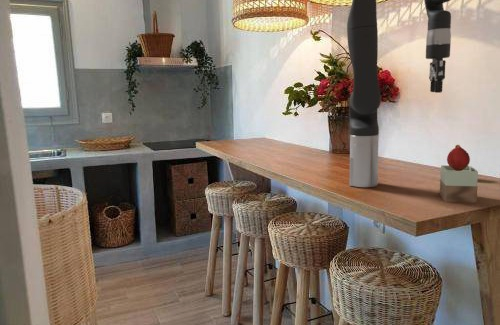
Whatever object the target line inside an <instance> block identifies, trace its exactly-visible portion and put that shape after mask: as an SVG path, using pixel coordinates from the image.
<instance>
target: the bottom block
mask: <svg viewBox="0 0 500 325" xmlns="http://www.w3.org/2000/svg"><path fill="white" fill-rule="evenodd" d="M478 189H479V188H478V185H477V186H446V185H445V184H444V183H443V182H442V180H441V179H439V196H440V197H441V198H442V200H443V201H444V202H445V203H466V204H467V203H471V204H475V203H478V202H477V200H478Z"/></svg>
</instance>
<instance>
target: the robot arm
mask: <svg viewBox="0 0 500 325" xmlns="http://www.w3.org/2000/svg"><path fill="white" fill-rule="evenodd" d="M423 1H424V6H425V11H426V15H427V33H426V40H425V42H426V44H425V59H426V60H432V61H431V62H430V63H429V75H428V78H429V82H430V85H429V86H430V87H429V88H430V90H429V91H430V93H440V94H441V93H442V92H443V82H444V80H445V78H446V63H447V62H446V60H444V59H448V58H450V56H451V43H452V32H451V28H452V26H451V24H452V14H451V12H450V10H445V8H444V3H449V2H450V1H451V0H423ZM377 14H378V12H377V0H352V2H351V6H350V10H349V13H348V17H347V22H346V23H347V24H346V32H347V33H346V34H347V35H346V36H347V45H348V46H347V47H348V52H349V54H348V55H349V58H350V62H351V65H352V66H351V67H352V71H353V80H352V81H353V83H352V84H353V85H352V86H353V89H352V92H351V94H350V96H349V103H348V106H349V108H348V110H349V111H348V112H349V113H348V115H349V117H348V119H349V120H348V121H349V123H348V124H349V187H356V188H357V187H358V188H374V187H377V186H378V184H379V183H378V180H379V179H378V178H379V176H378V175H379V142H380V141H379V140H380V139H379V138H380V137H379V133H380V132H379V131H380V130H379V128H380V127H379V120H378V109H379V108H380V105H381V103H382V102H381V101H382V96H381V90H380V83H379V75H378V56H379V55H378V54H379V53H378V52H379V51H378V49H379V48H378V44H379V43H378V42H379V41H378V40H379V36H378V35H379V34H378V18H377Z"/></svg>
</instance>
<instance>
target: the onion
mask: <svg viewBox="0 0 500 325" xmlns="http://www.w3.org/2000/svg"><path fill="white" fill-rule="evenodd" d="M446 161H447V164H448V166H450V167H451V168H453V169H454V170H455V171H462V170H463V169H465V168H466V167H467V166H469V164H470V161H471V157H470V154H469V153H468V152H467V150H465V148H462V146H461V145H460V144H456V145H455V147H454V148H453V149H451V150H450V151H449V153H448V154H447V156H446Z"/></svg>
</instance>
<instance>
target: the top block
mask: <svg viewBox="0 0 500 325" xmlns="http://www.w3.org/2000/svg"><path fill="white" fill-rule="evenodd" d="M478 174H479V171H478V170H477V169H475V167H473V166H472V165H468V166H467V167H466V168H465V169H463V170H462V171H455V170H454V169H453V168H451V167H450V166H449V165H443V164H442V165H441V166H440V179H441V180H442V182H443V183H444V184H445V185H446V186H478V176H479V175H478ZM440 179H439V180H440Z"/></svg>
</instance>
